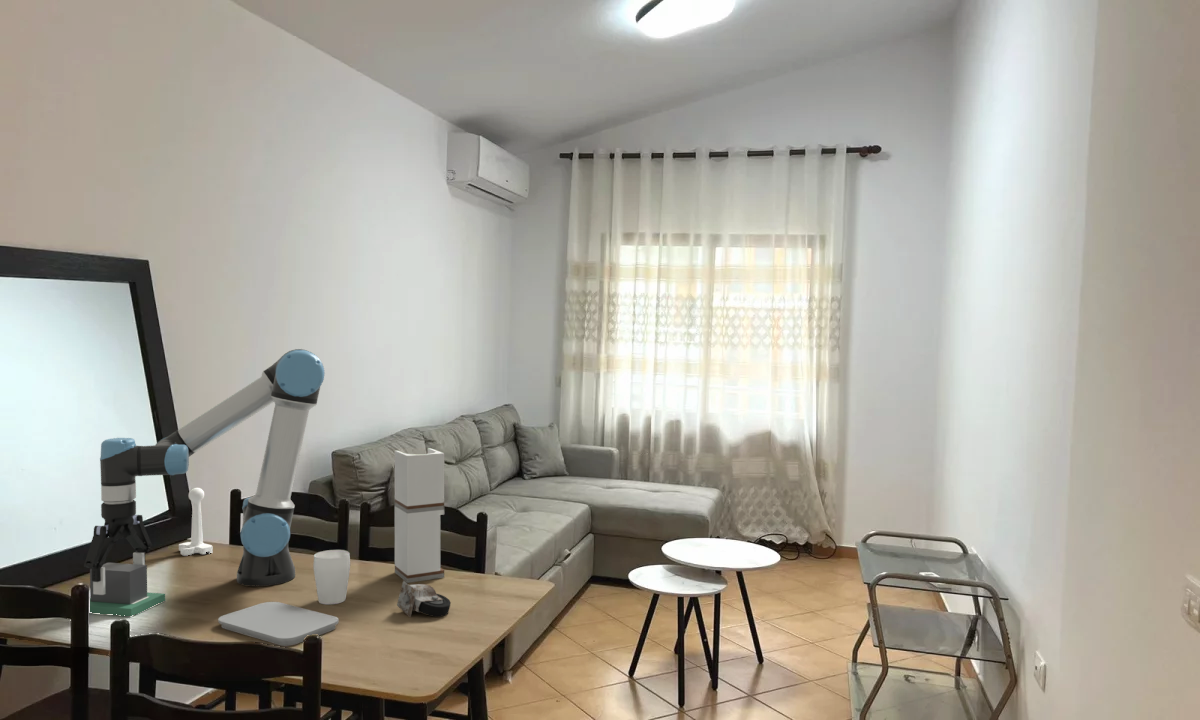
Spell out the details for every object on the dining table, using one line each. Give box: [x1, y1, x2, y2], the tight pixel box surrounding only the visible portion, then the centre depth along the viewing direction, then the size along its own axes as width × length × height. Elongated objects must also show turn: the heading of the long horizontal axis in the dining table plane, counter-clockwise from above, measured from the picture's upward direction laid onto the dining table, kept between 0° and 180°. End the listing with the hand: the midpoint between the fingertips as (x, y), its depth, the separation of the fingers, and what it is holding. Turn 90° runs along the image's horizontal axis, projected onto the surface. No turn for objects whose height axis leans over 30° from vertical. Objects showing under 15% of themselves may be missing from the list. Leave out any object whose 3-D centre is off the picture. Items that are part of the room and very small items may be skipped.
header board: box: [90, 591, 166, 617], centre depth 213 cm, size 16×12×6 cm
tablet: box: [217, 601, 340, 647], centre depth 200 cm, size 16×26×2 cm, turn 59°
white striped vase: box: [394, 447, 445, 584], centre depth 242 cm, size 11×11×35 cm
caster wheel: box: [396, 580, 452, 618], centre depth 211 cm, size 7×11×10 cm
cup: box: [312, 549, 351, 605], centre depth 219 cm, size 9×9×12 cm
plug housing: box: [89, 562, 148, 604], centre depth 213 cm, size 11×6×8 cm, turn 80°
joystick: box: [178, 487, 213, 557], centre depth 264 cm, size 11×8×20 cm
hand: (119, 585), depth 213 cm, fingers open, 13 cm apart
